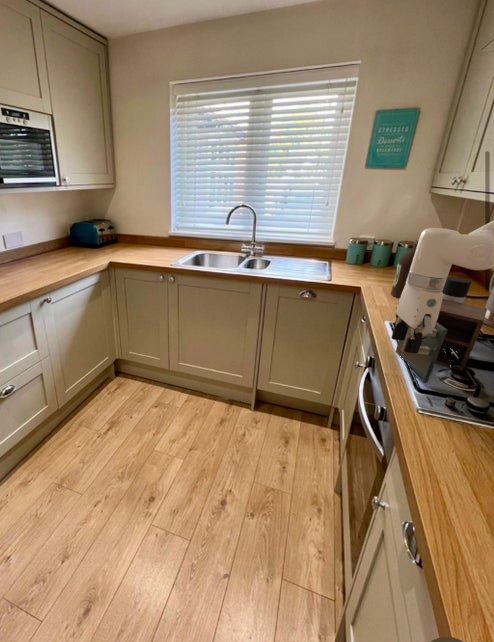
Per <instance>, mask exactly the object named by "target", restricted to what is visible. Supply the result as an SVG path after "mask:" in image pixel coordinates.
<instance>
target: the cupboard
mask: <svg viewBox="0 0 494 642" xmlns="http://www.w3.org/2000/svg"><path fill="white" fill-rule="evenodd" d="M486 309H487V308H485V307H481V306H477V305H473V304H468V303H465V302H464V303H459V302H455V301H450V300H446V299H442V303H441V308H440V312H439V315H438V319H437V323H439V324H440V325H441V326H443V327H444V328H445V329H447V333H446V336H445V338H444V341H443V343H442V346H441V347H449V348H451V349H453V350H455V351H457V352H458V355H459V357H462V359H461V362H460V363H459V364H460V365H462V366H464V368H465V367H466V365H467V362H468V360H469V358H470V355H471V353H472V351H473V349H474V347H475V344H476V342H477V340H478V337H479V334H480V333H481V330H482V327H483V325H484V323H485V320H486V319H485V318H486ZM453 358H454V355H451V354H450V355H448V354H446V353H445V352H444V350H443V349H442V348H441V349H440V351H439V354H438V356H437V359H436V361H435V365H440V366H443V367H446V368H448V369H451V368H450V365H451V363H452V362H451V360H453ZM448 360H450V361H448Z"/></svg>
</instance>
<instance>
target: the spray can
mask: <svg viewBox="0 0 494 642" xmlns="http://www.w3.org/2000/svg"><path fill="white" fill-rule="evenodd" d="M471 285H472V281H471V280H470V279H467V278H463V277H458V276H447V279H446V282H445V285H444V288H443V290H442V292H443V297H442V299H446V300H450V301H455V302H459V303H464V304H465V301H466V299H467V296H468V293H469V290H470V287H471Z"/></svg>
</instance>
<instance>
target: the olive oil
mask: <svg viewBox="0 0 494 642" xmlns="http://www.w3.org/2000/svg"><path fill="white" fill-rule="evenodd" d="M418 242H419V239H418V240H417V239H416V240H415V241H414V243H413V246H412V249H410V250H409V251H407V252H406V253H404V254H402V256H401V257H400V258H399V259H398V262H397V266H396V271H395V275H394V279H393V283H392V287H391V291H390V295H391V296H392V297H393V298H396V299H398V300H399V299H400V297H401V294H402V292H403V289H404V287H405V285H406V280H407V277H408V274H409V271H410V268H411V264H412V261H413V258H414V255H415V251H416V248H417V245H418Z"/></svg>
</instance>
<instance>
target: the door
mask: <svg viewBox="0 0 494 642" xmlns="http://www.w3.org/2000/svg"><path fill="white" fill-rule="evenodd" d="M407 326H408V327H409V328H408V331H407V334H406V337H405V340H398V342H397V346H396V348H395V353H396V354H397V356H399V357H400V356H401V357H402V358H403V359H404V360H405V361H406V362H407V363H408V364H409V365H410V367H411V368H412V369H411V368H410V367H409V368H410V369H411V371H412V370H413V371H412V373H414V374H415V375H416V376H417V378H419V379H420V381H421V382H422V383H423V384H427V383H428V382H429V379H430V376H431V375H432V372H433V369H434V367H435V365H436V363H435V361H436V359H437V356H438V354H439V351H440V349H441V346H442V343H443V341H444V338H445V336H446V333H447V329H445V328H444V327H443V326H441V325H440V324H439V323H437V322H436V325H435V327H434V329H433V330H432V335H431V336H428V337H427V338H425V339H424V341H422V343H421V346H420V349H419V351H418V353H406V352H404V348H405V345H406V342H407V339H408V338H410V333H411V327H410V326H409V325H407ZM417 327H421V325H418V326H417ZM419 332H420V330H416V334H417V333H419ZM401 357H400V358H401ZM402 358H401V359H402ZM403 359H402V360H403Z"/></svg>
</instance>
